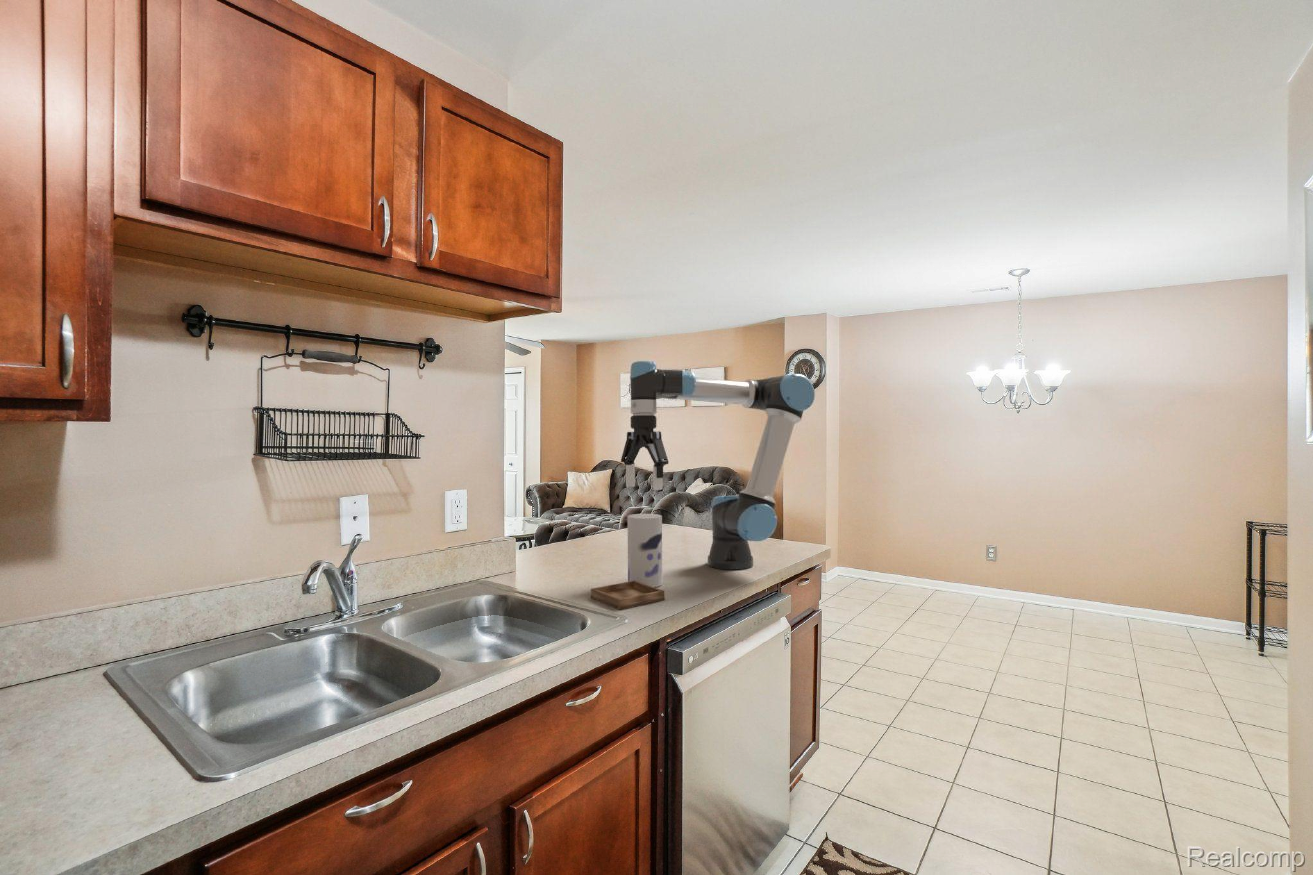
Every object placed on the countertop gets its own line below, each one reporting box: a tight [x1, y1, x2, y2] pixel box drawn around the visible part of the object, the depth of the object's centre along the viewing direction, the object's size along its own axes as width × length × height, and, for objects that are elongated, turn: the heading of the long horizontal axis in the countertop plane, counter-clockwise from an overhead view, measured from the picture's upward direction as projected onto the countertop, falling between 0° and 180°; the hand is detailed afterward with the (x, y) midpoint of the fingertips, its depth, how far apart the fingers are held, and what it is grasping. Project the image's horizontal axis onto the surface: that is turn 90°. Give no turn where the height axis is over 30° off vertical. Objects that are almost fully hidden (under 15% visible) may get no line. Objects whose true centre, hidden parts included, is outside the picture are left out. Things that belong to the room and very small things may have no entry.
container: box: [626, 513, 663, 588], centre depth 173 cm, size 10×10×20 cm
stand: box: [590, 581, 666, 611], centre depth 158 cm, size 14×14×2 cm
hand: (643, 488), depth 173 cm, fingers open, 13 cm apart
